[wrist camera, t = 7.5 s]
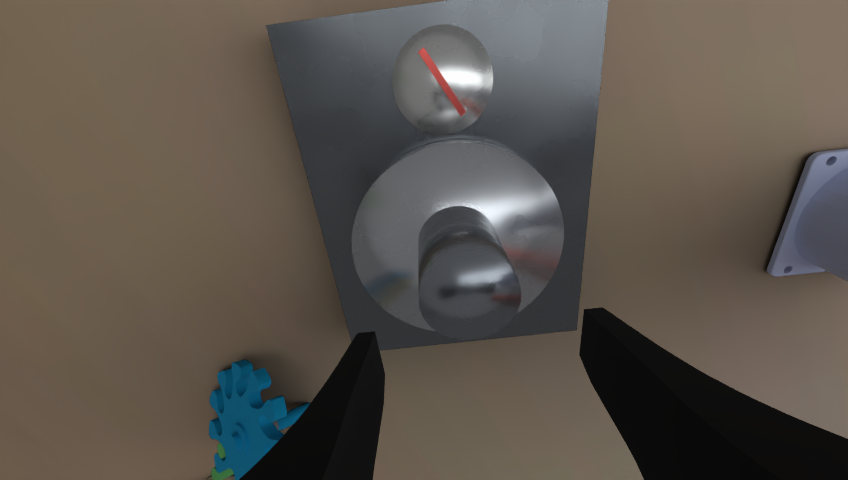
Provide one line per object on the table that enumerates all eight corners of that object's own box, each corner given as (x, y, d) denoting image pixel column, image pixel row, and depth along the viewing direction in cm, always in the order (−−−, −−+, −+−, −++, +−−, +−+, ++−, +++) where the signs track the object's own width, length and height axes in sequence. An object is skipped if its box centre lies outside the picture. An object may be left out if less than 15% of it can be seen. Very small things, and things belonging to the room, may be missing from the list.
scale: (584, -11, 16) (620, -27, 13) (562, 306, 24) (582, 338, 21) (285, 30, 17) (258, 22, 14) (360, 328, 25) (352, 362, 22)
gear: (237, 337, 23) (294, 501, 19) (315, 321, 27) (373, 449, 24) (184, 409, 28) (220, 551, 24) (257, 385, 32) (298, 500, 29)
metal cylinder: (501, 208, 17) (530, 257, 13) (489, 277, 19) (511, 341, 15) (420, 203, 17) (422, 252, 13) (415, 273, 19) (415, 337, 15)
